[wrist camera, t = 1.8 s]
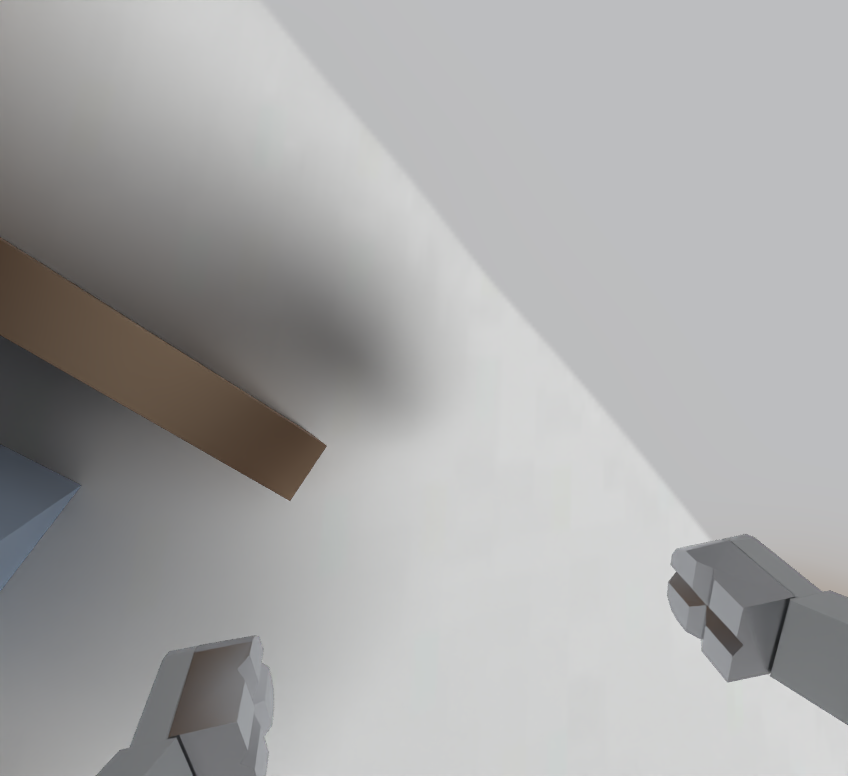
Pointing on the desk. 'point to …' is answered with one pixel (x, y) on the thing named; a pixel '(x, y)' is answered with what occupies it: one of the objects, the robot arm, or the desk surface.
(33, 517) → the slate block
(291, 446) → the trap lane
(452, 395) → the desk surface
